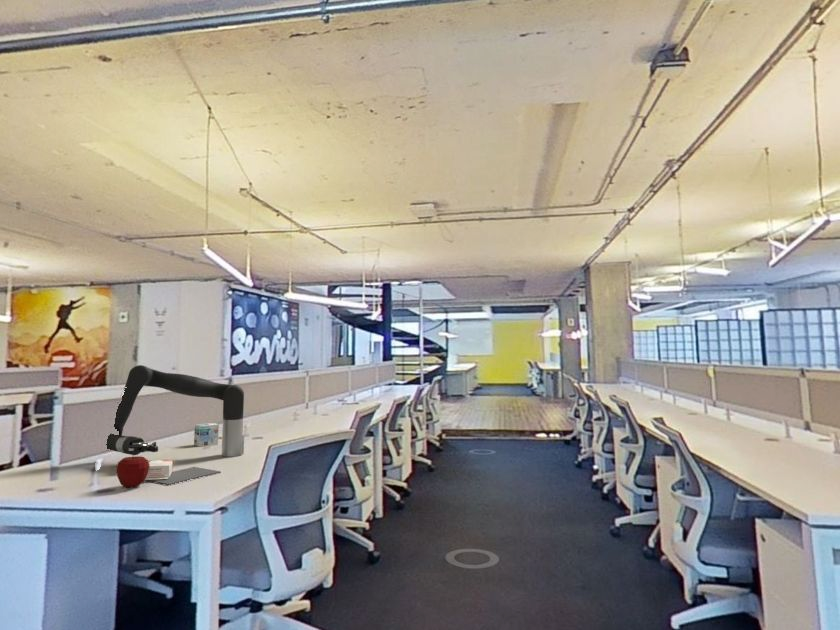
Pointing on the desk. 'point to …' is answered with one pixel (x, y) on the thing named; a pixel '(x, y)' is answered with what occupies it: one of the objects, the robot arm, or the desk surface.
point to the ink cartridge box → (159, 469)
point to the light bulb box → (206, 434)
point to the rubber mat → (186, 475)
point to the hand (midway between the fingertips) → (156, 449)
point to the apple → (132, 471)
